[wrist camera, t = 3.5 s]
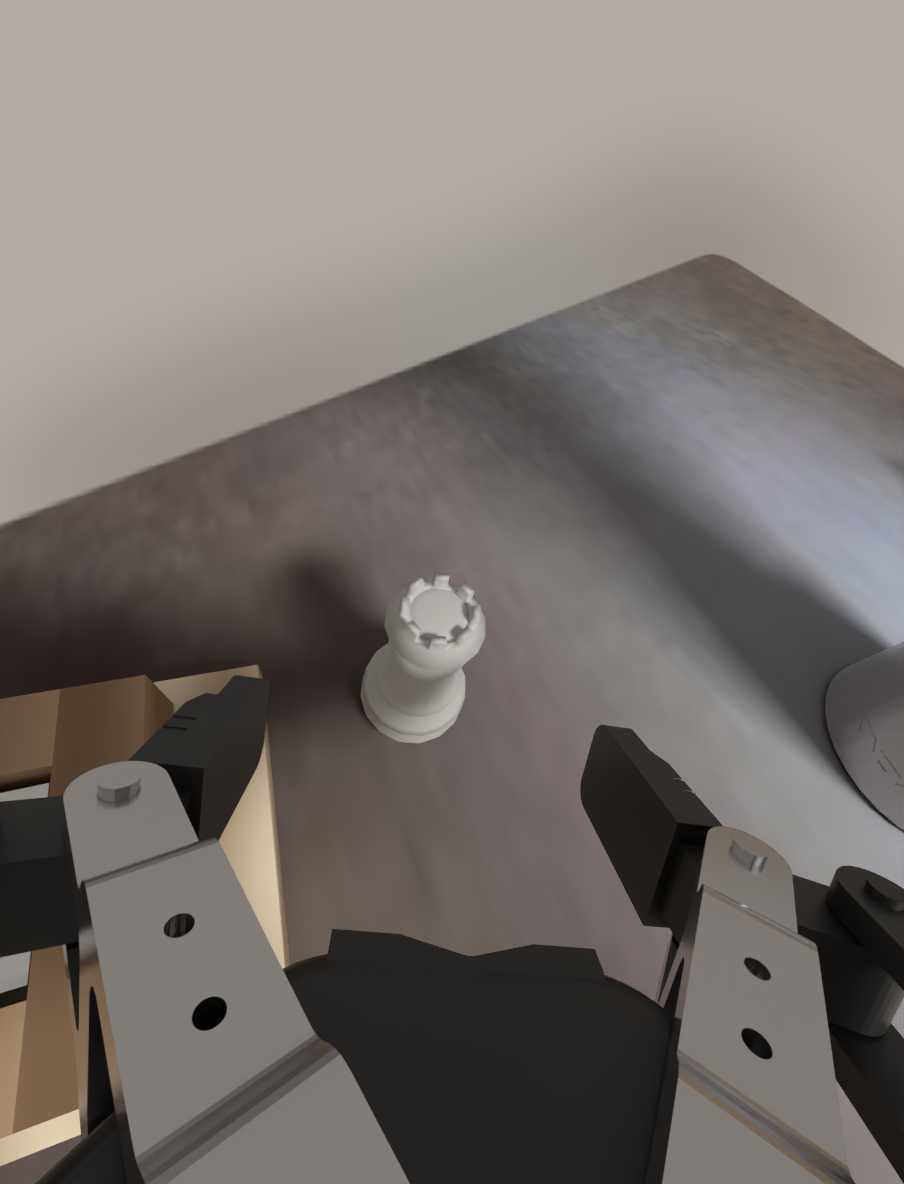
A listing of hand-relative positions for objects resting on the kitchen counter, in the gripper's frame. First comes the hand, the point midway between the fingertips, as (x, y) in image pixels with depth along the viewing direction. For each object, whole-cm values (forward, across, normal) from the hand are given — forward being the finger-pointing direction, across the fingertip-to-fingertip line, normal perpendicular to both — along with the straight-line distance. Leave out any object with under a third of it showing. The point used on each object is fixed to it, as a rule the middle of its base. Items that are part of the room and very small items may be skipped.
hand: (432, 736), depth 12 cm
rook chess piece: (+9, 0, +4) cm, 10 cm away
